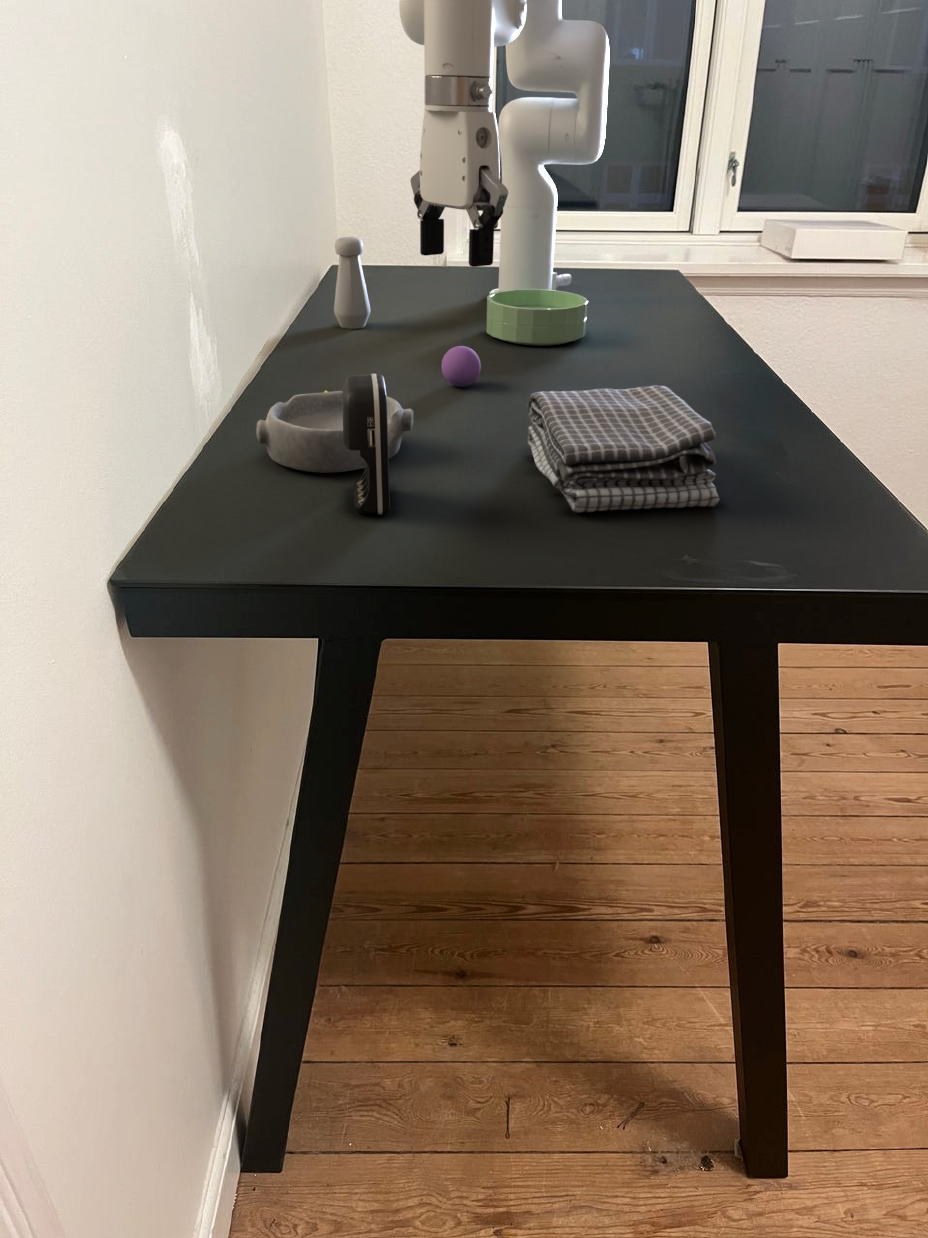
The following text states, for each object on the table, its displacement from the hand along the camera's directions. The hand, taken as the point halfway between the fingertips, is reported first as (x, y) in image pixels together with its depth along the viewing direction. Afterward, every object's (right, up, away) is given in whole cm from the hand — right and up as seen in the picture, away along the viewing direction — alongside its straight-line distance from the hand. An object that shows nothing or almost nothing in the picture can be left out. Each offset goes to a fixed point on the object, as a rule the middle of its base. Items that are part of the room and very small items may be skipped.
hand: (455, 259), depth 110 cm
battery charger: (-8, -33, -26) cm, 42 cm away
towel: (+16, -30, -19) cm, 39 cm away
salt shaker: (-17, +3, +35) cm, 39 cm away
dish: (-13, -26, -15) cm, 33 cm away
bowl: (+12, +1, +31) cm, 33 cm away
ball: (+1, -11, +6) cm, 13 cm away
